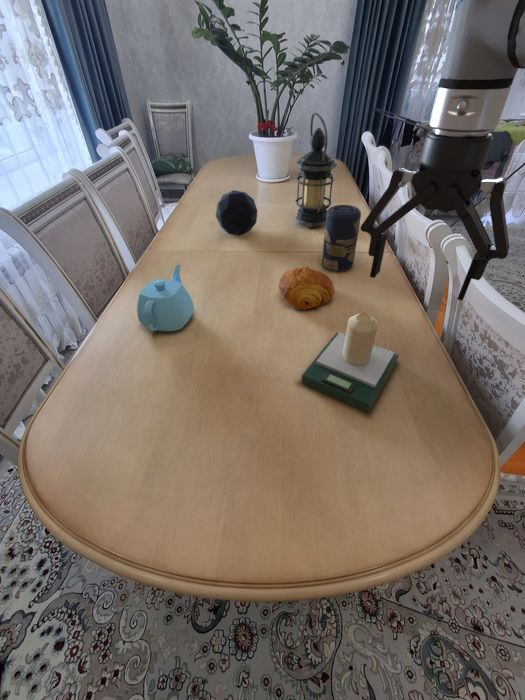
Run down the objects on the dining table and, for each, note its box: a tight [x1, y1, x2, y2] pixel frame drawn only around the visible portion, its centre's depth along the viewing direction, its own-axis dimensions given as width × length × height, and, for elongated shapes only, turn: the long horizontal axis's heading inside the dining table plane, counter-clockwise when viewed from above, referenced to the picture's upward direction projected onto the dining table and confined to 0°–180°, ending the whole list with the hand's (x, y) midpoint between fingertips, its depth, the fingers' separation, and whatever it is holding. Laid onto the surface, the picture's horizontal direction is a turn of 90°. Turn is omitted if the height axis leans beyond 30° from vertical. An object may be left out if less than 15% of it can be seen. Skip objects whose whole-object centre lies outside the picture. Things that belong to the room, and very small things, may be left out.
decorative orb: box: [215, 189, 258, 237], centre depth 122 cm, size 14×15×15 cm
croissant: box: [278, 266, 335, 310], centre depth 92 cm, size 14×16×8 cm
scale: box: [301, 332, 399, 414], centre depth 71 cm, size 14×16×3 cm
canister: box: [321, 204, 362, 272], centre depth 101 cm, size 10×10×18 cm
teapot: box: [136, 264, 195, 333], centre depth 85 cm, size 13×11×18 cm
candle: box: [343, 311, 379, 366], centre depth 68 cm, size 6×6×10 cm
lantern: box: [294, 112, 337, 228], centre depth 120 cm, size 14×13×35 cm
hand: (415, 284), depth 56 cm, fingers open, 13 cm apart
